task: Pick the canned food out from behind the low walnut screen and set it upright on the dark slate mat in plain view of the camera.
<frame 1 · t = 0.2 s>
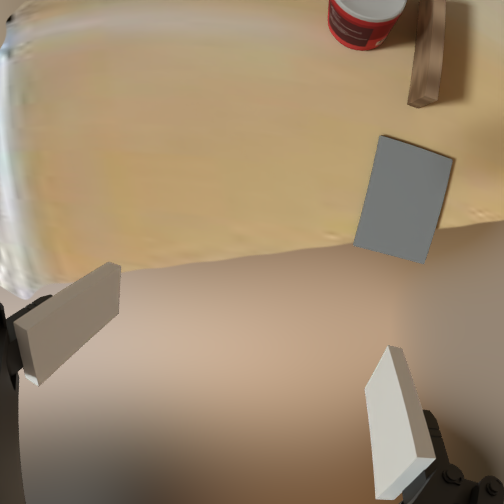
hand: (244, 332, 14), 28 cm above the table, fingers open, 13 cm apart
canned food: (357, 26, 32), on the table
walnut screen: (420, 51, 31), on the table
slate mat: (404, 201, 37), on the table
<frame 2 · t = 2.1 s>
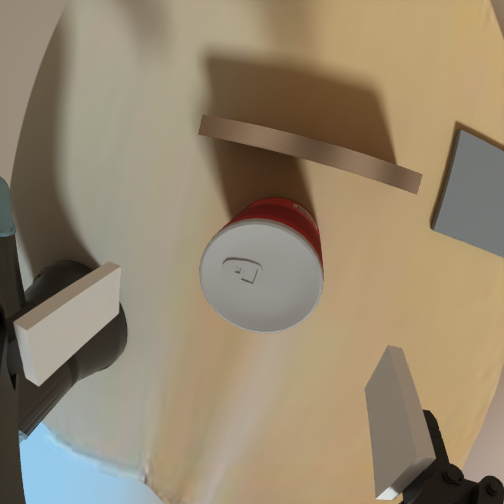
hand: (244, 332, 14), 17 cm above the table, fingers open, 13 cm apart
canned food: (277, 236, 31), on the table
walnut screen: (311, 150, 28), on the table
slate mat: (499, 203, 25), on the table
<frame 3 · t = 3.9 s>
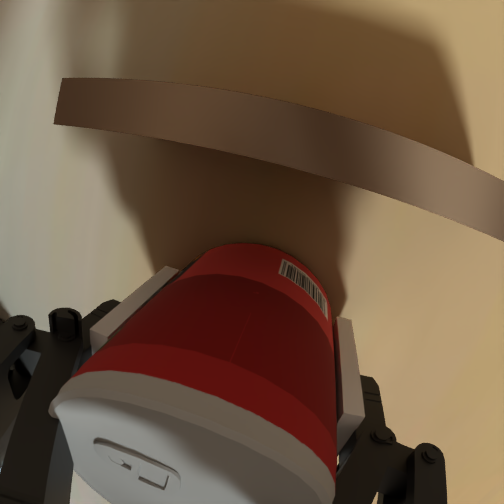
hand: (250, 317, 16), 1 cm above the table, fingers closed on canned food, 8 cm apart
canned food: (254, 308, 17), on the table, touching gripper
walnut screen: (319, 148, 14), on the table
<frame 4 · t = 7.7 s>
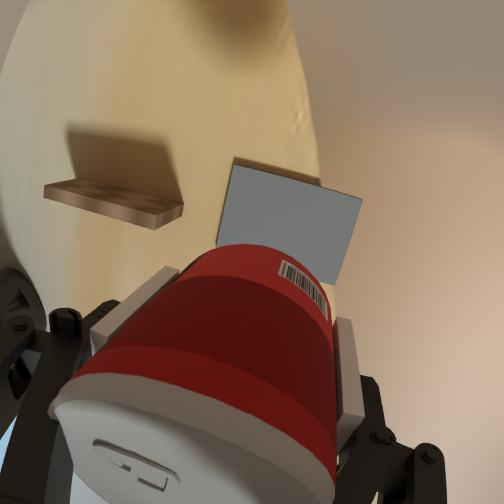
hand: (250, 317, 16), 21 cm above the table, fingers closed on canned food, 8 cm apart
canned food: (253, 309, 17), point 20 cm above the table, touching gripper
walnut screen: (125, 195, 38), on the table
slate mat: (287, 224, 35), on the table
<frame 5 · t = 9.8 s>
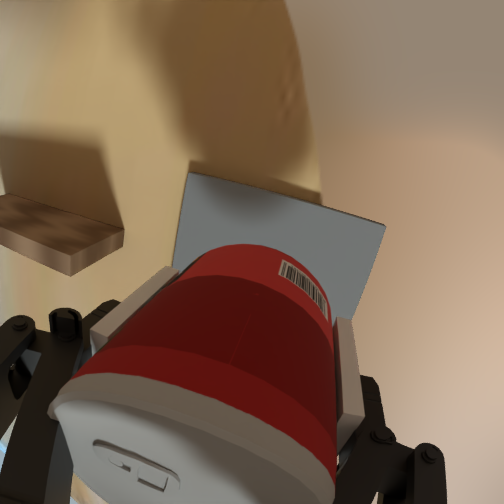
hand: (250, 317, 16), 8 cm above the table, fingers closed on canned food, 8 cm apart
canned food: (253, 309, 17), point 7 cm above the table, touching gripper
walnut screen: (56, 216, 26), on the table
slate mat: (270, 262, 24), on the table
when the fingers open (2 cm above the table, at t = 11.5 s): canned food stays where it is, resting on slate mat.
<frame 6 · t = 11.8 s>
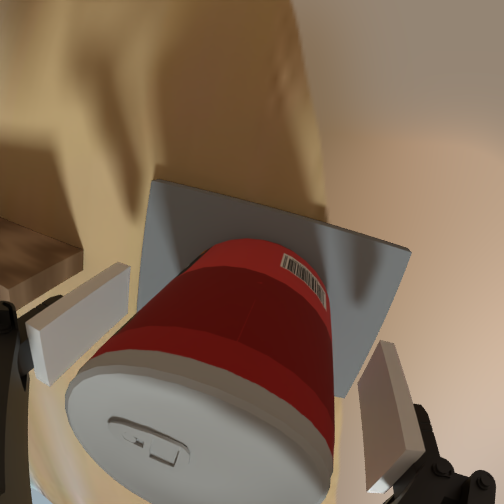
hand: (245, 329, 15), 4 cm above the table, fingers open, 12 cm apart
canned food: (256, 301, 18), point 1 cm above the table, touching slate mat
walnut screen: (13, 231, 21), on the table
slate mat: (259, 296, 18), on the table
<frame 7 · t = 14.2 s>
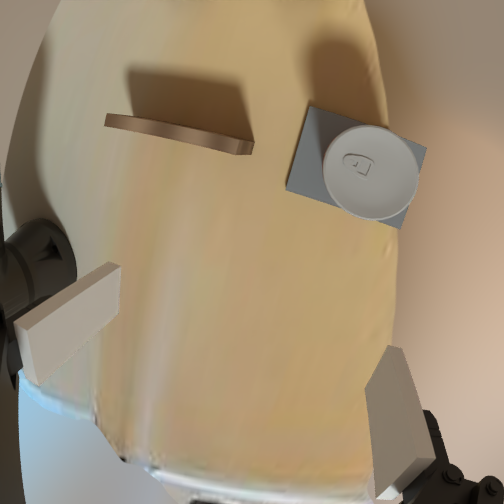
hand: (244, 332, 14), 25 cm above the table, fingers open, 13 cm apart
canned food: (357, 167, 34), point 1 cm above the table, touching slate mat
walnut screen: (190, 133, 37), on the table
slate mat: (357, 167, 34), on the table
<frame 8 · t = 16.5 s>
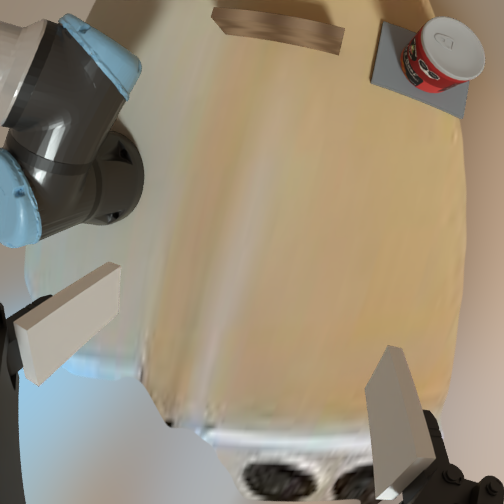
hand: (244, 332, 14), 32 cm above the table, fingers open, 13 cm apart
canned food: (425, 68, 34), point 1 cm above the table, touching slate mat
walnut screen: (282, 37, 37), on the table
slate mat: (423, 69, 35), on the table
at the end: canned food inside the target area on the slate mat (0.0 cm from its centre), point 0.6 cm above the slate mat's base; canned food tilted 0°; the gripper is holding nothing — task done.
